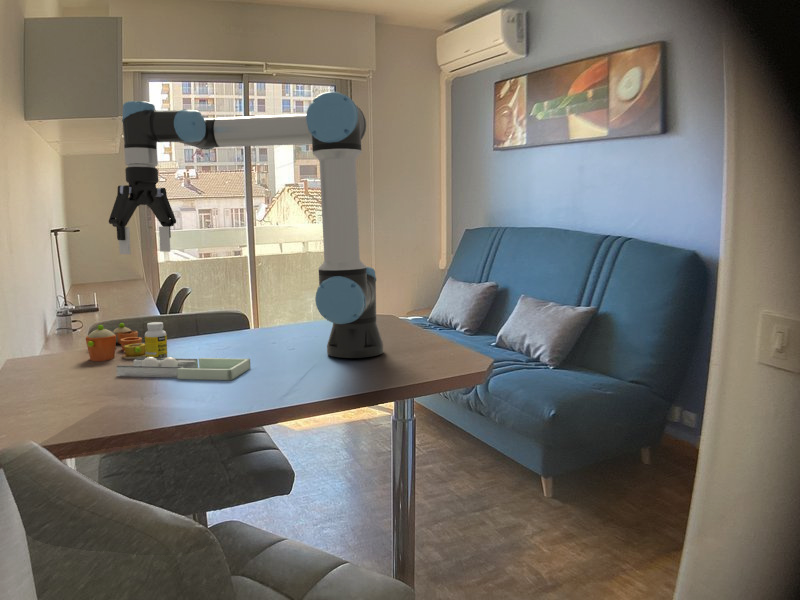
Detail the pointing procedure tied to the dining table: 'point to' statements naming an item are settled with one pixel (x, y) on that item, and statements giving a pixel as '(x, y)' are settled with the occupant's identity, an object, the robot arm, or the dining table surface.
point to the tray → (215, 369)
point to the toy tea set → (114, 343)
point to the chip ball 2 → (169, 362)
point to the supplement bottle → (155, 340)
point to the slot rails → (155, 368)
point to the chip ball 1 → (150, 362)
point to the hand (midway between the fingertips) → (146, 252)
